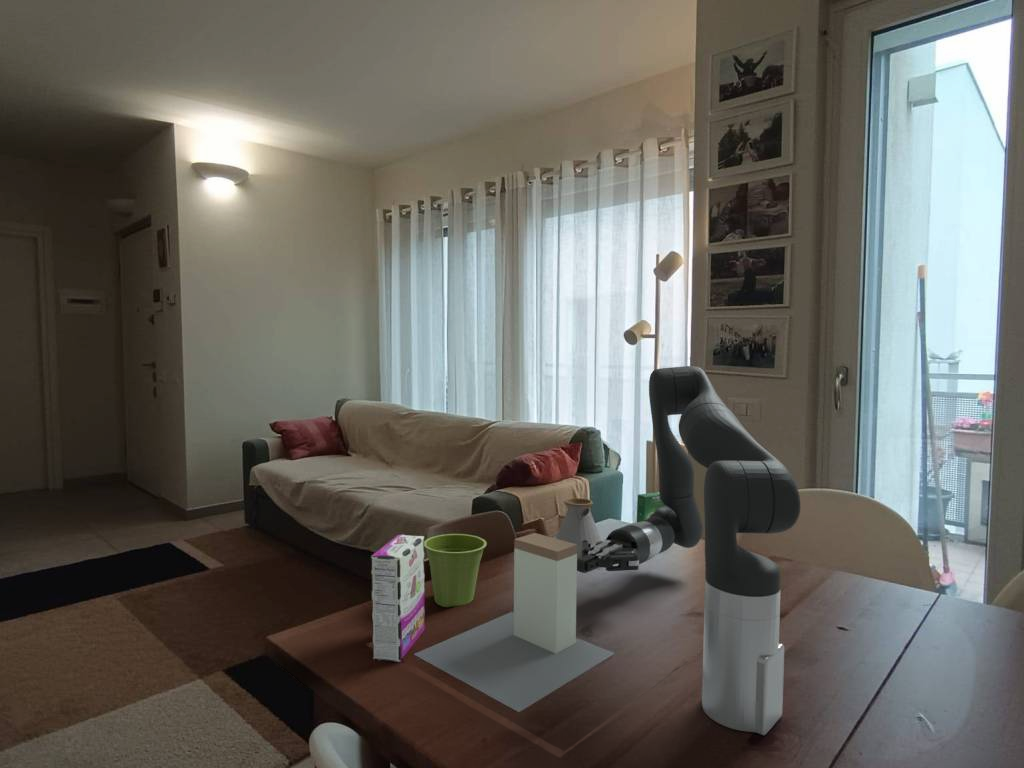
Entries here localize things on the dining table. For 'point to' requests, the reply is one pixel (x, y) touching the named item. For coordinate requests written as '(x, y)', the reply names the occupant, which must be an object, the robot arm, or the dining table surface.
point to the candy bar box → (397, 597)
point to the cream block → (545, 591)
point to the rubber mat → (511, 662)
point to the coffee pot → (578, 524)
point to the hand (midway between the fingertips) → (580, 566)
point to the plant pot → (454, 567)
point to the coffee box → (647, 505)
